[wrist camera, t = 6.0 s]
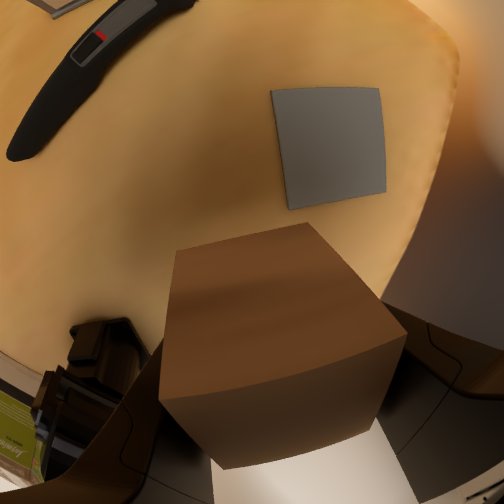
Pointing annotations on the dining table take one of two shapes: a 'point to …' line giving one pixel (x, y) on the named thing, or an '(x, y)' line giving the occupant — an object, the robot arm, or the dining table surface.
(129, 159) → the dining table surface
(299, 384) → the walnut block
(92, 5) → the dining table surface
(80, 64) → the electric trimmer
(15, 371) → the tea box
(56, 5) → the gray angled bracket
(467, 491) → the robot arm
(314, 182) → the pad
